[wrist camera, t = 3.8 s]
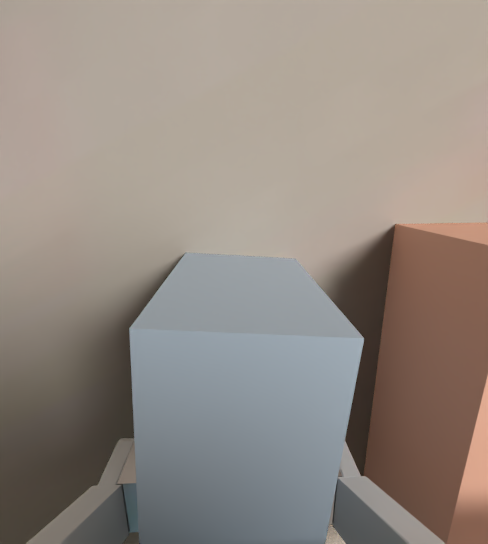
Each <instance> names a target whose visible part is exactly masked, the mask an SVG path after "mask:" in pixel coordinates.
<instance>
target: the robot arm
mask: <svg viewBox="0 0 488 544" xmlns="http://www.w3.org/2000/svg"><path fill="white" fill-rule="evenodd" d="M329 525H333V527H334V528H335V530H336V531H337V532H338V533H339V535H340V536H341V537H342V539H343V540H344V541H345V542H346V544H445V543H444V542H443V541H442V540H441V539H440V538H439V537H437V536H436V535H435V534H434V533H433V532H431V531H430V530H429V529H428V528H427V527H425V526H424V525H423V524H422V523H421V522H420V521H418V520H417V519H416V518H415V517H414V516H412V515H411V514H410V513H409V512H408V511H406V510H405V509H404V508H403V507H402V506H401V505H399V504H398V503H397V502H396V501H395V500H393V499H392V498H391V497H390V496H389V495H387V494H386V493H385V492H384V491H383V490H382V489H380V488H379V487H378V486H377V485H376V484H374V483H373V482H372V481H371V480H370V479H368V478H367V477H366V476H361V475H360V473H359V471H358V468H357V466H356V464H355V462H354V459H353V457H352V455H351V453H350V451H349V448H348V446H347V444H346V442H344V447H343V453H342V458H341V463H340V468H339V473H338V479H337V484H336V489H335V494H334V500H333V505H332V510H331V515H330V521H329ZM131 532H139V530H138V508H137V486H136V464H135V442H134V438H121V439H120V440H119V441H118V442H117V444H116V446H115V448H114V450H113V453H112V455H111V457H110V459H109V461H108V463H107V466H106V468H105V470H104V472H103V474H102V476H101V479H100V481H99V483H98V485H96V486H91V487H90V488H89V489H88V490H87V491H86V492H85V493H83V494H82V495H81V496H80V497H79V498H78V499H76V500H75V501H74V502H73V503H72V504H71V505H70V506H68V507H67V508H66V509H65V510H64V511H63V512H61V513H60V514H59V515H58V516H57V517H56V518H54V519H53V520H52V521H51V522H50V523H49V524H48V525H46V526H45V527H44V528H43V529H42V530H41V531H39V532H38V533H37V534H36V535H35V536H34V537H33V538H31V539H30V540H29V541H28V542H27V543H26V544H122V543H123V542H124V541H125V539H126V538H127V537H128V535H129V533H131Z"/></svg>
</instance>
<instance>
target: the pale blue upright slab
mask: <svg viewBox="0 0 488 544" xmlns="http://www.w3.org/2000/svg"><path fill="white" fill-rule="evenodd" d="M129 333H130V355H131V377H132V399H133V421H134V442H135V464H136V486H137V508H138V530H139V544H325V541H326V536H327V531H328V526H329V521H330V515H331V510H332V505H333V500H334V494H335V489H336V484H337V479H338V473H339V468H340V463H341V458H342V453H343V447H344V442H345V437H346V432H347V426H348V421H349V416H350V411H351V405H352V400H353V395H354V390H355V385H356V379H357V374H358V369H359V364H360V358H361V353H362V348H363V343H364V337H363V336H362V335H361V334H360V333H359V332H358V331H357V329H356V328H355V327H354V326H353V325H352V324H351V322H350V321H349V320H348V319H347V318H346V317H345V315H344V314H343V313H342V312H341V311H340V310H339V309H338V307H337V306H336V305H335V304H334V303H333V302H332V300H331V299H330V298H329V297H328V296H327V295H326V293H325V292H324V291H323V290H322V289H321V288H320V286H319V285H318V284H317V283H316V282H315V281H314V280H313V278H312V277H311V276H310V275H309V274H308V273H307V271H306V270H305V269H304V268H303V267H302V266H301V264H300V263H299V262H298V261H297V260H296V259H292V258H274V257H255V256H237V255H219V254H200V253H185V254H184V256H183V257H182V258H181V260H180V261H179V262H178V264H177V265H176V266H175V268H174V269H173V270H172V272H171V273H170V275H169V276H168V277H167V279H166V280H165V281H164V283H163V284H162V285H161V287H160V288H159V289H158V291H157V292H156V293H155V295H154V296H153V297H152V299H151V300H150V301H149V303H148V304H147V305H146V307H145V308H144V309H143V311H142V312H141V313H140V315H139V316H138V318H137V319H136V320H135V322H134V323H133V324H132V326H131V327H130V328H129Z"/></svg>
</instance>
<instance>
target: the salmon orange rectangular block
mask: <svg viewBox="0 0 488 544" xmlns="http://www.w3.org/2000/svg"><path fill="white" fill-rule="evenodd" d="M364 476H366V477H367V478H368V479H370V480H371V481H372V482H373V483H374V484H376V485H377V486H378V487H379V488H380V489H382V490H383V491H384V492H385V493H386V494H387V495H389V496H390V497H391V498H392V499H393V500H395V501H396V502H397V503H398V504H399V505H401V506H402V507H403V508H404V509H405V510H406V511H408V512H409V513H410V514H411V515H412V516H414V517H415V518H416V519H417V520H418V521H420V522H421V523H422V524H423V525H424V526H425V527H427V528H428V529H429V530H430V531H431V532H433V533H434V534H435V535H436V536H437V537H439V538H440V539H441V540H442V541H443V542H444V543H445V544H488V223H435V224H395V230H394V238H393V246H392V254H391V262H390V270H389V278H388V286H387V294H386V302H385V310H384V318H383V326H382V334H381V342H380V350H379V357H378V365H377V373H376V381H375V389H374V397H373V405H372V413H371V421H370V429H369V437H368V445H367V453H366V461H365V469H364Z"/></svg>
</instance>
